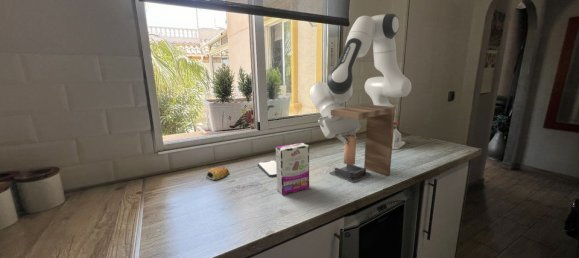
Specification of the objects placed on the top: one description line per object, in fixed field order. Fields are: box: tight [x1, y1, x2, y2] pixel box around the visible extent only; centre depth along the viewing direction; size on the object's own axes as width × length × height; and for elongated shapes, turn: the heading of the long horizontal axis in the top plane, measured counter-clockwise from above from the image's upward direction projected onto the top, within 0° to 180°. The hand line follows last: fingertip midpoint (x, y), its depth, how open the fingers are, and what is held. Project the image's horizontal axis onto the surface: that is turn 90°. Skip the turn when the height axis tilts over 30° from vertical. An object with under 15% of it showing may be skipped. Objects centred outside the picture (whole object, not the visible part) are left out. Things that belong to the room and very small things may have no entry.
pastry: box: [205, 166, 229, 181], centre depth 106 cm, size 9×7×4 cm
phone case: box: [257, 160, 277, 178], centre depth 112 cm, size 9×2×16 cm
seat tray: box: [329, 164, 372, 184], centre depth 106 cm, size 12×12×3 cm
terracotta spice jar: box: [343, 135, 357, 165], centre depth 105 cm, size 4×4×11 cm
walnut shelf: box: [331, 104, 396, 177], centre depth 100 cm, size 24×12×28 cm, turn 130°
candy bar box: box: [275, 142, 310, 196], centre depth 91 cm, size 11×5×16 cm, turn 117°
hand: (351, 142), depth 103 cm, fingers closed on terracotta spice jar, 4 cm apart
